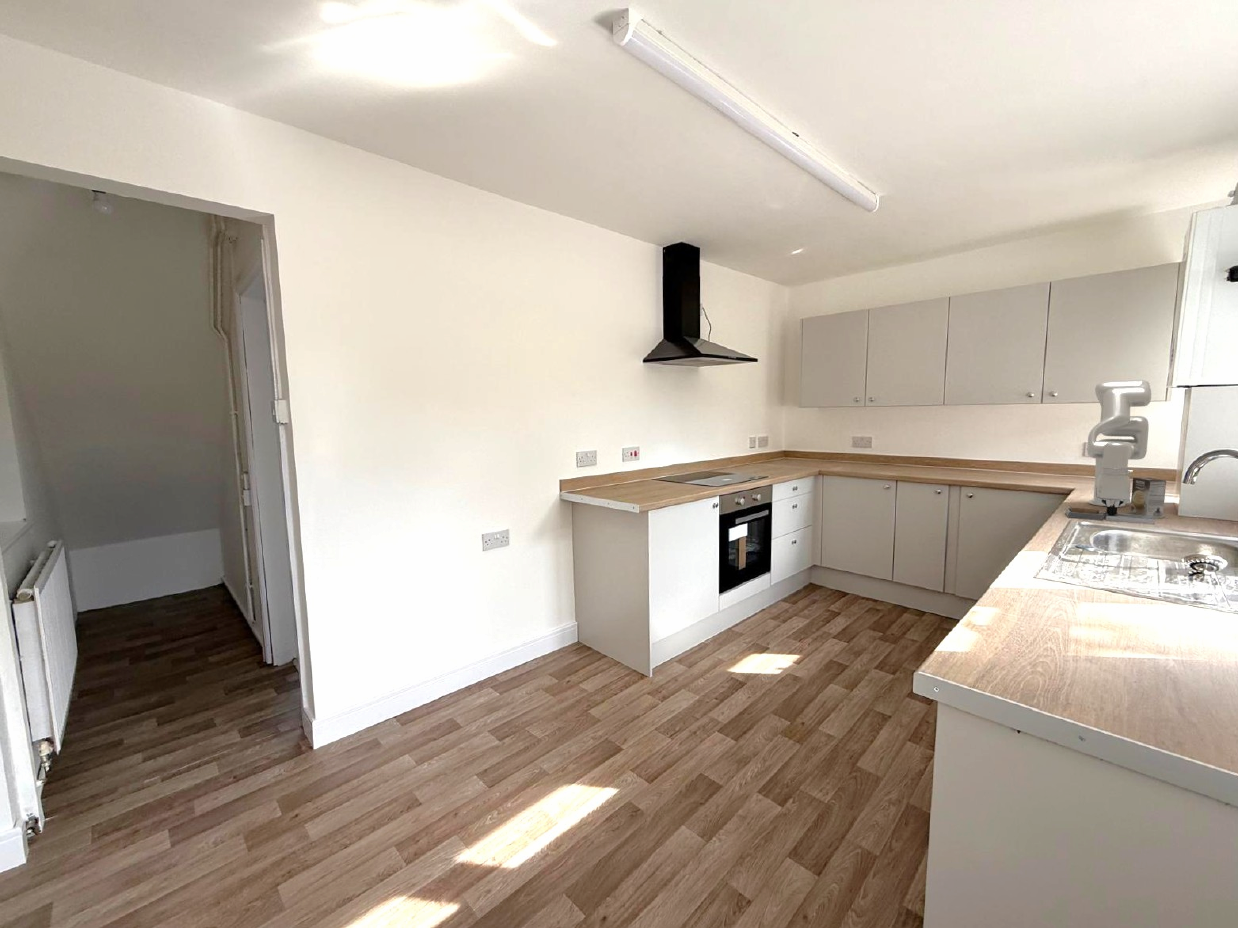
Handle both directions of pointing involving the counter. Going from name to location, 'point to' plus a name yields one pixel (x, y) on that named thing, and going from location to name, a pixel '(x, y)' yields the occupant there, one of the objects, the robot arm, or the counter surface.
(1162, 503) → the coffee box
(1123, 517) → the slot rails
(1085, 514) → the gray u-shaped frame
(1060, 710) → the counter surface
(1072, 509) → the walnut chip
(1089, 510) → the walnut chip
